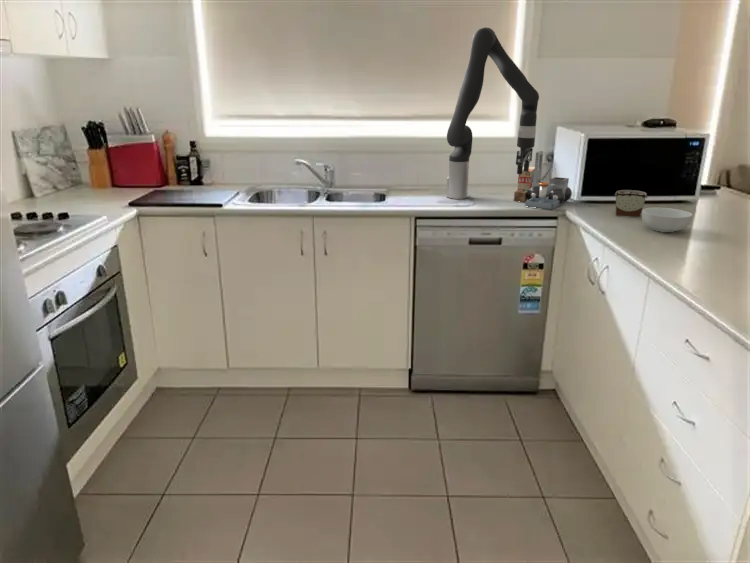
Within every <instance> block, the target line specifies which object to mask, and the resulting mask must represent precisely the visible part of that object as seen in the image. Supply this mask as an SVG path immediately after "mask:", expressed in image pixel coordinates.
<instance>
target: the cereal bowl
mask: <svg viewBox="0 0 750 563" xmlns="http://www.w3.org/2000/svg"><path fill="white" fill-rule="evenodd" d="M641 219H642V222H643V224H644V225H646V226H647V227H649V228H650V229H652V231H654V230H656V231H655V232H657V231H663V232H673V233H675V232H674V231H676V232H677V231H681V230H684V229H686V228H688V226H690V225H691V222H692V220H693V213H691V212H689V211H686V210H685V209H684V210H683V209H677V208H669V207H658V206H657V207H656V206H655V207H646V208H643V209H642V213H641ZM663 232H662V233H663Z"/></svg>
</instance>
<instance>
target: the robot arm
mask: <svg viewBox="0 0 750 563" xmlns="http://www.w3.org/2000/svg"><path fill="white" fill-rule="evenodd" d="M488 57H490V59H491V60H492V61H493V63H494V64H495V65H496V67H497V68H498V71H499V72H500V74H501V76H502V77H503V79H504V80H505V82H507V84H508V85H509V86H510V87H511V89H513V90H514V92H515V93H516V95H517V96H518V97H519V99H520V100H521V113H520V117H519V127H518V132H517V142H516V147H518V148H520V149H519V150H518V151H517V152H516V157H515V158H516V160H515V165H516V167H517V168H516V169H517V170H516V174H517V175H519V174H522V171H525V172H528V171H529V167H530V163H531V162H532V161H533V160H532V158H533V149H534V147H535V142H536V133H537V132H536V131H537V128H536V127H537V120H538V118H537V116H538V114H537V111H538V110H537V109H538V105H539V101H540V95H539V92H538V90H536V89H535V87H534V86H533V85H532V84H531V83H530V82H529V81H528V79H527V77H526V75H525V74H524V73H523V71H521V69H520V68H519V67H518V66H517V64H516V63H515V62H514V61H513V59H512V58H511V57H510V56H509V53H507V51H506V50H505V49H504V47H503V45H502V44H501V42H500V41H499V39H498V36H497V35H496V32H495V31H494V30H493V29H492V28H491V27H482V28H479V29H477V30H476V31H475V32H474V34H473V36H472V39H471V47H470V52H469V59H468V63H467V66H466V68H465V72H464V75H463V78H462V81H461V83H460V84H461V86H460V89H459V92H458V97H457V101H456V104H455V108H454V113H453V116H452V117H451V118H452V119H451V121H450V124H449V126H448V129H447V133H446V141H447V144H448V145H449V146H450V147H453V148H454V149H453V151H452V152H451V153H450V154H449V156H448V157H449V159H448V176H446V177H447V178H446V193H445V194H446V198H449V199H454V200H462V199H467V198H468V193H469V192H468V191H469V187H468V186H469V174H470V173H469V170H470V158H471V157H470V156H471V155H472V149H473V148H472V147H473V131H472V129H471V127H470V126H469V125H466V124H467V120H468V119H469V116H470V114H471V113H472V112H473V110H474V109H475V108H476V106H477V103H478V102H479V100H480V98H481V95H482V94H481V92H482V90H483V86H484V77H485V67H486V63H487V60H488ZM523 167H524V170H523Z"/></svg>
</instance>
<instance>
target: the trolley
mask: <svg viewBox="0 0 750 563" xmlns="http://www.w3.org/2000/svg"><path fill="white" fill-rule="evenodd" d="M534 160H535V161H534V167H535V171H534V182H532V188H531V189H529V190H528V191H527V194H526V197H527V199H528V200H529V199H531V198H539V189H540V185H539V182H548V183H549V184H548V186H547V196H546V199H550V200H559V201H560V204H559V206H560V205H561V204H563V203H564V202H567V201H569V200H570V199H571V198H572V195H573V193H572V189H571V188H570V187H569V177H558V176H557V177H556V176H554V177H551V178H550V179H549V180H545V179H543V180H542V172H543V171H542V170H543V160H544V150H540V151H536V152H535V159H534ZM537 177H538V180H537Z"/></svg>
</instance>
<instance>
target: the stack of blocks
mask: <svg viewBox="0 0 750 563" xmlns="http://www.w3.org/2000/svg"><path fill="white" fill-rule="evenodd" d="M523 170H524V166H523ZM534 171H535V166H529V171H528V172H525V171H522V174H518V176H517V179H518V180H517V190H516V191H528V190H529V189H531V188H532V182H534ZM537 180H538V177H537Z"/></svg>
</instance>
